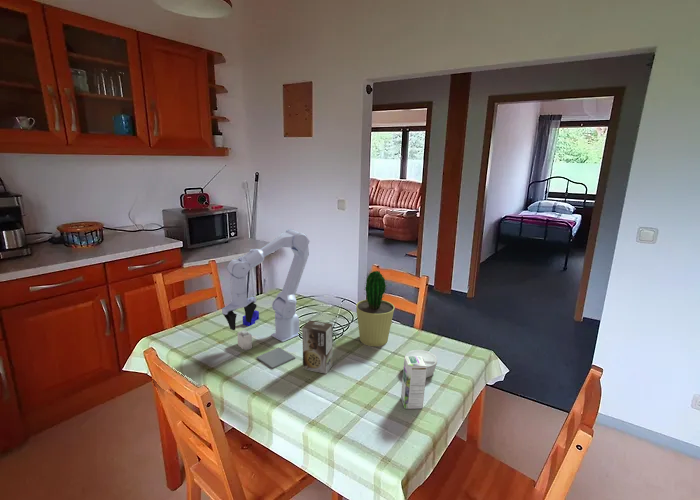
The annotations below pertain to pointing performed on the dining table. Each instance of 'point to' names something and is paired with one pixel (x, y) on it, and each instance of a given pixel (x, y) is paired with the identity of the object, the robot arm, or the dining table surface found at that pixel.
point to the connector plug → (244, 340)
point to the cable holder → (254, 318)
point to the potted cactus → (374, 312)
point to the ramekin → (428, 358)
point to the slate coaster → (275, 358)
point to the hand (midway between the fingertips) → (240, 325)
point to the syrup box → (413, 382)
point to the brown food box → (317, 346)
